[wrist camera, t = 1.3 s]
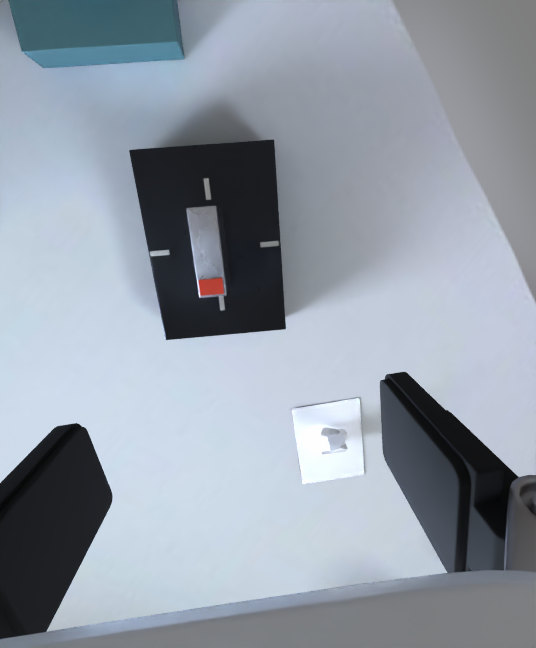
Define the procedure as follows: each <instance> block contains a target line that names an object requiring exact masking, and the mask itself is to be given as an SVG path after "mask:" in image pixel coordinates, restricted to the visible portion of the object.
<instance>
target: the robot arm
mask: <svg viewBox="0 0 536 648" xmlns="http://www.w3.org/2000/svg"><path fill="white" fill-rule="evenodd" d="M380 398H381V421H382V444H383V454H384V458H385V461H386V463H387V465H388V467H389V468H390V470H391V472H392V474H393V476H394V477H395V479H396V481H397V483H398V485H399V486H400V488H401V490H402V492H403V494H404V495H405V497H406V499H407V501H408V503H409V504H410V506H411V508H412V510H413V512H414V513H415V515H416V517H417V519H418V520H419V522H420V524H421V526H422V528H423V529H424V531H425V533H426V535H427V537H428V538H429V540H430V542H431V544H432V546H433V547H434V549H435V551H436V553H437V555H438V556H439V558H440V560H441V562H442V564H443V565H444V567H445V569H446V571H447V572H448V573H444V574H436V575H428V576H420V577H412V578H404V579H396V580H388V581H380V582H372V583H365V584H358V585H351V586H345V587H338V588H331V589H324V590H317V591H310V592H304V593H297V594H290V595H283V596H276V597H269V598H263V599H256V600H249V601H242V602H236V603H229V604H223V605H216V606H210V607H203V608H196V609H190V610H183V611H177V612H170V613H164V614H157V615H151V616H144V617H138V618H131V619H125V620H118V621H112V622H105V623H99V624H93V625H86V626H80V627H74V628H68V629H61V630H55V631H49V632H46V631H47V629H48V627H49V625H50V623H51V621H52V619H53V617H54V615H55V614H56V612H57V610H58V608H59V606H60V604H61V602H62V600H63V598H64V596H65V594H66V592H67V590H68V588H69V586H70V584H71V582H72V580H73V578H74V576H75V574H76V572H77V570H78V569H79V567H80V565H81V563H82V561H83V559H84V557H85V555H86V553H87V551H88V549H89V547H90V545H91V543H92V541H93V539H94V537H95V535H96V533H97V531H98V529H99V527H100V525H101V524H102V522H103V520H104V518H105V516H106V514H107V512H108V510H109V508H110V506H111V503H112V492H111V489H110V486H109V484H108V481H107V479H106V476H105V474H104V471H103V469H102V466H101V464H100V461H99V459H98V456H97V454H96V451H95V449H94V446H93V444H92V441H91V439H90V436H89V434H88V431H87V430H86V428H84V427H81V425H79V424H77V423H75V424H69V425H63V426H57V427H56V428H54V429H53V430H52V431H51V432H50V433H49V434H48V435H47V436H46V437H45V438H44V439H43V440H42V441H41V442H40V443H39V444H38V445H37V446H36V447H35V448H34V449H33V450H32V451H31V452H30V453H29V454H28V455H27V457H26V458H25V459H24V460H23V461H22V462H21V463H20V464H19V465H18V466H17V467H16V468H15V469H14V470H13V471H12V472H11V473H10V474H9V475H8V476H7V477H6V478H5V479H4V480H3V481H2V482H1V483H0V648H536V475H527V476H522V477H518V476H517V475H516V474H515V473H514V472H513V471H512V470H511V469H509V468H508V467H507V466H506V465H505V464H504V463H503V462H502V461H501V460H500V459H499V458H498V457H497V456H496V455H495V454H494V453H493V452H492V451H491V450H490V449H489V448H487V447H486V446H485V445H484V444H483V443H482V442H481V441H480V440H479V439H478V438H477V437H476V436H475V435H474V434H473V433H472V432H471V431H470V430H469V429H468V428H466V427H465V426H464V425H463V424H462V423H461V422H460V421H459V420H458V419H457V418H456V417H455V416H454V415H453V414H452V413H450V412H449V411H448V410H445V409H444V408H443V407H442V406H441V405H440V404H438V403H437V402H436V401H435V400H434V399H433V398H432V397H431V396H430V395H429V394H428V393H427V392H426V391H425V390H424V389H423V388H422V387H421V386H420V385H419V384H418V383H417V382H416V381H415V380H414V379H413V378H412V377H411V376H410V375H409V374H408V373H406V372H400V373H394V374H387V375H386V376H385V380H381V381H380Z"/></svg>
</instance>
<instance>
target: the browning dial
mask: <svg viewBox="0 0 536 648" xmlns="http://www.w3.org/2000/svg"><path fill="white" fill-rule="evenodd" d="M186 212H187V219H188V225H189V232H190V239H191V245H192V252H193V259H194V266H195V272H196V279H197V286H198V292H199V297H200V298H205V297H217V296H226V295H227V292H228V289H229V286H230V283H231V280H230V271H229V262H228V253H227V245H226V236H225V227H224V219H223V210H222V209H220V208H219V207H217V206H203V207H190V208H186Z"/></svg>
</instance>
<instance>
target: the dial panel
mask: <svg viewBox="0 0 536 648" xmlns="http://www.w3.org/2000/svg"><path fill="white" fill-rule="evenodd" d="M129 152H130V157H131V162H132V167H133V172H134V178H135V183H136V188H137V193H138V198H139V204H140V209H141V214H142V219H143V224H144V230H145V235H146V240H147V245H148V250H149V256H150V261H151V266H152V271H153V276H154V282H155V287H156V292H157V297H158V302H159V308H160V313H161V318H162V323H163V328H164V334H165V339H166V340H171V339H182V338H193V337H204V336H215V335H226V334H237V333H248V332H259V331H270V330H281V329H286V324H285V308H284V292H283V276H282V260H281V244H280V227H279V211H278V195H277V179H276V163H275V147H274V140H261V141H248V142H234V143H220V144H206V145H192V146H179V147H165V148H151V149H137V150H130V151H129ZM203 206H217V207H219V208H220V209H222V210H223V219H224V227H225V236H226V245H227V253H228V262H229V271H230V280H231V283H230V286H229V289H228V292H227V295H226V296H217V297H205V298H200V297H199V292H198V286H197V279H196V272H195V266H194V259H193V252H192V245H191V239H190V232H189V225H188V219H187V212H186V208H190V207H203Z"/></svg>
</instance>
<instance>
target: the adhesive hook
mask: <svg viewBox="0 0 536 648" xmlns="http://www.w3.org/2000/svg"><path fill="white" fill-rule="evenodd" d="M347 438H348V432H347V430H346V429H345V428H338V427H330V426H326V427H323V428H322V429H321V431H320V434H319V440H320V441H323V442H325V444H326V448H327V450H325V451H321V452H320V453H321V455H322V456H327V455H334V454H340V453H346V452H347V451H348V450H349V448H348V446H347V443H346V441H347V440H346V439H347Z"/></svg>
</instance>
